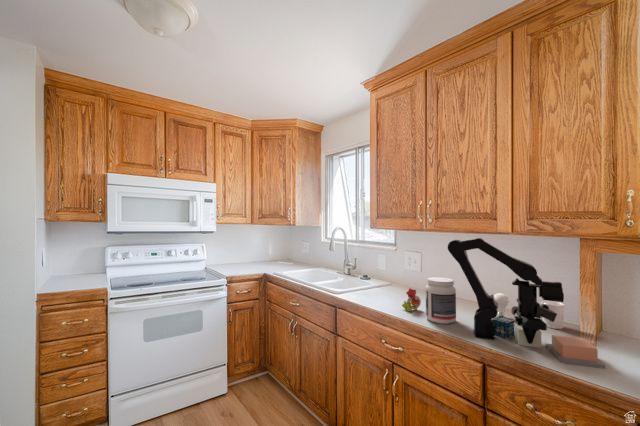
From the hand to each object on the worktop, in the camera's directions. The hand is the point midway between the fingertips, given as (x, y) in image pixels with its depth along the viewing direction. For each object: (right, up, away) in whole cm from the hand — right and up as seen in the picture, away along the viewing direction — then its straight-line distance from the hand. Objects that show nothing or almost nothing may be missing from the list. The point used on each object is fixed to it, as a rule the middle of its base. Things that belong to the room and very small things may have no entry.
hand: (527, 340), depth 110 cm
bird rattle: (-30, -2, +40) cm, 50 cm away
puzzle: (-4, -2, +9) cm, 9 cm away
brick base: (+8, -1, -10) cm, 13 cm away
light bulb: (+9, -2, +31) cm, 32 cm away
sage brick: (0, -1, 0) cm, 1 cm away
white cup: (+23, -2, +18) cm, 30 cm away
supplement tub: (-22, -2, +26) cm, 34 cm away
